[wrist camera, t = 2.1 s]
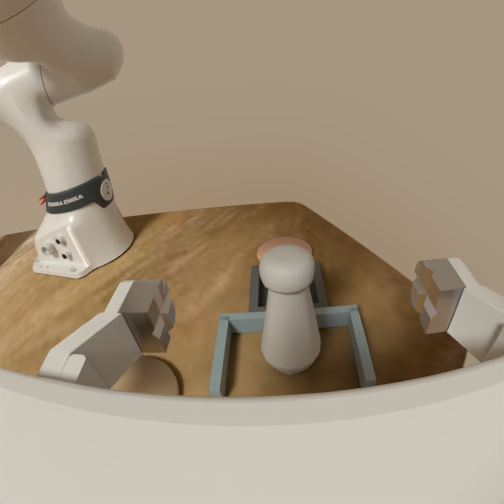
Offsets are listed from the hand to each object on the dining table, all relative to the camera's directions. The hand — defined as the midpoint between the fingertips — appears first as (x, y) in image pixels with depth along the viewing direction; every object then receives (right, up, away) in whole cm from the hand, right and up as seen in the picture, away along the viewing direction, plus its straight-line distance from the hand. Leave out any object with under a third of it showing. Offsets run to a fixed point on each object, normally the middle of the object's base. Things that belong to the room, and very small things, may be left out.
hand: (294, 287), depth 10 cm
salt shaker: (+3, -10, +21) cm, 24 cm away
